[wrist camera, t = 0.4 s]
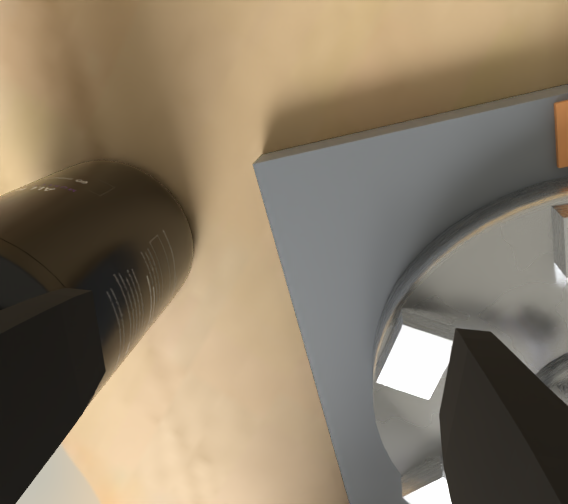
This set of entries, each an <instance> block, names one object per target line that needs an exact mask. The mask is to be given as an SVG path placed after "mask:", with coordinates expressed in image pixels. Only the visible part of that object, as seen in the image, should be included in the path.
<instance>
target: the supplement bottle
mask: <svg viewBox="0 0 568 504" xmlns="http://www.w3.org/2000/svg"><path fill="white" fill-rule="evenodd" d="M192 259H193V239H192V233H191V229H190V226H189V223H188V220H187V218H186V216H185V214H184V212H183V210H182V208H181V206H180V205H179V203H178V202H177V200H176V199H175V198H174V196H173V195H172V194H171V193H170V192H169V191H168V190H167V188H166V187H165V186H163V185H162V184H161V183H160V182H159V181H158V180H156V179H155V178H154V177H152V176H151V175H149V174H148V173H146V172H144V171H142V170H140V169H138V168H136V167H134V166H131V165H129V164H125V163H122V162H117V161H110V160H94V161H87V162H83V163H79V164H77V165H74V166H71V167H69V168H66V169H64V170H61V171H58V172H56V173H54V174H51V175H49V176H46V177H44V178H42V179H39V180H37V181H35V182H32V183H30V184H27V185H25V186H23V187H20V188H18V189H16V190H13V191H11V192H9V193H6V194H4V195H1V196H0V310H2V309H5V308H7V307H10V306H12V305H15V304H18V303H20V302H23V301H26V300H28V299H31V298H34V297H37V296H39V295H42V294H45V293H48V292H52V291H55V290H59V289H62V288H72V289H82V290H91V291H92V293H93V299H94V305H95V311H96V317H97V322H98V328H99V334H100V340H101V346H102V352H103V358H104V363H105V369H106V372H105V374H104V376H103V378H102V380H101V382H100V384H99V385H98V387H97V389H96V391H95V393H94V395H93V397H92V398H91V400H90V402H91V401H92V400H93V399H94V397H95V396H96V395H97V394H98V392H99V391H100V390H101V389H102V387H103V386H104V385H105V384H106V382H107V381H108V380H109V379H110V377H111V376H112V375H113V374H114V372H115V371H116V370H117V368H118V367H119V366H120V365H121V363H122V362H123V361H124V360H125V358H126V357H127V356H128V355H129V353H130V352H131V351H132V350H133V348H134V347H135V346H136V345H137V343H138V342H139V341H140V340H141V338H142V337H143V336H144V335H145V333H146V332H147V331H148V330H149V328H150V327H151V326H152V324H153V323H154V322H155V321H156V319H157V318H158V317H159V316H160V314H161V313H162V312H163V311H164V309H165V308H166V307H167V306H168V304H169V303H170V302H171V301H172V299H173V298H174V297H175V295H176V294H177V292H178V291H179V290H180V288H181V287H182V286H183V284H184V282H185V280H186V279H187V277H188V274H189V272H190V269H191V265H192ZM90 402H89V403H88V405H89V404H90ZM88 405H87V406H88Z"/></svg>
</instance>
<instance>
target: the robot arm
mask: <svg viewBox="0 0 568 504" xmlns="http://www.w3.org/2000/svg"><path fill="white" fill-rule="evenodd" d="M105 372H106V369H105V363H104V358H103V352H102V346H101V340H100V334H99V328H98V322H97V317H96V311H95V305H94V299H93V293H92V291H91V290H82V289H72V288H62V289H59V290H55V291H52V292H48V293H45V294H42V295H39V296H37V297H34V298H31V299H28V300H26V301H23V302H20V303H18V304H15V305H12V306H10V307H7V308H5V309H2V310H0V504H16V502H17V501H18V500H19V498H20V497H21V495H22V494H23V493H24V492H25V490H26V489H27V488H28V486H29V485H30V484H31V482H32V481H33V480H34V478H35V477H36V475H37V474H38V473H39V472H40V470H41V469H42V468H43V466H44V465H45V464H46V463H47V461H48V460H49V459H50V457H51V456H52V455H53V453H54V452H55V450H56V449H57V448H58V447H59V445H60V444H61V443H62V441H63V440H64V438H65V437H66V436H67V434H68V433H69V432H70V430H71V429H72V428H73V426H74V425H75V424H76V422H77V421H78V419H79V418H80V417H81V415H82V414H83V412H84V410H85V409H86V407H87V405H88V403H89V402H90V400H91V398H92V397H93V395H94V393H95V391H96V389H97V387H98V385H99V384H100V382H101V380H102V378H103V376H104V374H105ZM439 421H440V434H441V445H442V456H443V466H444V471H445V476H446V481H447V485H448V490H449V495H450V500H451V504H568V405H567V404H565V403H564V402H563V401H562V400H561V399H560V398H559V397H558V396H557V395H556V394H555V393H554V392H553V391H552V390H551V389H549V388H548V387H547V386H546V385H545V384H544V383H543V382H542V381H541V380H540V379H539V378H538V377H537V376H536V375H535V374H534V373H533V372H532V371H531V370H530V369H529V368H528V367H527V366H526V365H525V364H524V363H523V362H522V361H521V360H520V359H519V358H518V357H517V356H516V355H515V354H514V353H513V352H512V351H511V350H510V349H509V348H508V347H507V346H506V345H505V344H504V343H502V342H501V341H500V340H499V339H498V338H497V337H496V336H495V335H494V334H493V333H492V332H491V331H481V330H471V329H461V328H455V333H454V339H453V344H452V349H451V354H450V360H449V365H448V370H447V375H446V380H445V386H444V391H443V396H442V401H441V407H440V412H439Z"/></svg>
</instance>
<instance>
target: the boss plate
mask: <svg viewBox="0 0 568 504" xmlns="http://www.w3.org/2000/svg"><path fill="white" fill-rule="evenodd" d="M253 167H254V170H255V174H256V177H257V181H258V184H259V188H260V191H261V195H262V198H263V202H264V205H265V209H266V212H267V216H268V219H269V223H270V226H271V230H272V233H273V237H274V240H275V244H276V248H277V251H278V255H279V258H280V262H281V265H282V269H283V272H284V276H285V279H286V283H287V286H288V290H289V293H290V297H291V300H292V304H293V307H294V311H295V314H296V318H297V321H298V325H299V328H300V332H301V335H302V339H303V342H304V346H305V349H306V353H307V356H308V360H309V363H310V367H311V370H312V374H313V377H314V381H315V384H316V388H317V391H318V395H319V398H320V402H321V405H322V409H323V412H324V416H325V419H326V423H327V426H328V430H329V433H330V437H331V440H332V444H333V447H334V451H335V454H336V458H337V461H338V465H339V468H340V472H341V475H342V479H343V482H344V486H345V489H346V493H347V496H348V500H349V503H350V504H409V503H408V502H407V501H406V500H405V499H404V498H403V497H402V481H401V474H400V472H399V471H398V470H397V468H396V467H395V465H394V464H393V462H392V461H391V459H390V457H389V455H388V453H387V451H386V449H385V447H384V445H383V443H382V440H381V437H380V434H379V431H378V428H377V425H376V420H375V413H374V407H373V347H374V342H375V336H376V330H377V326H378V323H379V320H380V317H381V314H382V311H383V309H384V306H385V304H386V302H387V300H388V298H389V296H390V294H391V292H392V290H393V289H394V287H395V285H396V283H397V282H398V281H399V279H400V278H401V276H402V275H403V274H404V272H405V271H406V269H407V268H408V267H409V265H410V264H411V263H412V262H413V261H414V260H415V259H416V258H417V256H418V255H419V254H420V253H421V252H422V251H423V250H424V249H425V248H426V247H427V246H428V245H429V244H430V243H431V242H432V241H434V240H435V239H436V238H437V237H438V236H440V235H441V234H442V233H443V232H444V231H446V230H447V229H448V228H449V227H451V226H452V225H453V224H455V223H457V222H458V221H460V220H461V219H463V218H464V217H466V216H467V215H469V214H470V213H472V212H474V211H475V210H477V209H479V208H481V207H483V206H485V205H487V204H489V203H491V202H493V201H495V200H497V199H499V198H501V197H503V196H505V195H507V194H510V193H513V192H515V191H518V190H521V189H524V188H526V187H529V186H532V185H535V184H538V183H541V182H546V181H550V180H554V179H558V178H562V177H566V176H568V84H566V85H562V86H557V87H553V88H549V89H544V90H540V91H536V92H531V93H527V94H523V95H518V96H514V97H510V98H505V99H501V100H497V101H492V102H488V103H484V104H479V105H475V106H471V107H466V108H462V109H458V110H453V111H449V112H445V113H440V114H436V115H432V116H427V117H423V118H419V119H414V120H410V121H406V122H401V123H397V124H393V125H388V126H384V127H380V128H375V129H371V130H366V131H362V132H358V133H353V134H349V135H345V136H340V137H336V138H332V139H327V140H323V141H319V142H314V143H310V144H306V145H301V146H297V147H293V148H288V149H284V150H280V151H275V152H271V153H267V154H262V155H261V156H260V157H259V158H258V159H257V160H256V161H255V162H254V163H253Z"/></svg>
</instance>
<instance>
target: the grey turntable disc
mask: <svg viewBox="0 0 568 504" xmlns="http://www.w3.org/2000/svg"><path fill="white" fill-rule="evenodd" d="M455 328H461V329H471V330H481V331H491V332H492V333H493V334H494V335H495V336H496V337H497V338H498V339H499V340H500V341H501V342H502V343H504V344H505V345H506V346H507V347H508V348H509V349H510V350H511V351H512V352H513V353H514V354H515V355H516V356H517V357H518V358H519V359H520V360H521V361H522V362H523V363H524V364H525V365H526V366H527V367H528V368H529V369H530V370H531V371H532V372H533V373H534V374H535V375H536V376H537V377H538V378H539V379H540V380H541V381H542V382H543V383H544V384H545V385H546V386H547V387H548V388H549V389H551V390H552V391H553V392H554V393H555V394H556V395H557V396H558V397H559V398H560V399H561V400H562V401H563V402H564V403H565V404H567V405H568V176H566V177H562V178H558V179H554V180H550V181H546V182H541V183H538V184H535V185H532V186H529V187H526V188H524V189H521V190H518V191H515V192H513V193H510V194H507V195H505V196H503V197H501V198H499V199H497V200H495V201H493V202H491V203H489V204H487V205H485V206H483V207H481V208H479V209H477V210H475V211H474V212H472V213H470V214H469V215H467V216H466V217H464V218H463V219H461V220H460V221H458V222H457V223H455V224H453V225H452V226H451V227H449V228H448V229H447V230H446V231H444V232H443V233H442V234H441V235H440V236H438V237H437V238H436V239H435V240H434V241H432V242H431V243H430V244H429V245H428V246H427V247H426V248H425V249H424V250H423V251H422V252H421V253H420V254H419V255H418V256H417V258H416V259H415V260H414V261H413V262H412V263H411V264H410V265H409V267H408V268H407V269H406V271H405V272H404V274H403V275H402V276H401V278H400V279H399V281H398V282H397V283H396V285H395V287H394V289H393V290H392V292H391V294H390V296H389V298H388V300H387V302H386V304H385V306H384V309H383V311H382V314H381V317H380V320H379V323H378V326H377V330H376V336H375V342H374V347H373V407H374V413H375V420H376V425H377V428H378V431H379V434H380V437H381V440H382V443H383V445H384V447H385V449H386V451H387V453H388V455H389V457H390V459H391V461H392V462H393V464H394V465H395V467H396V468H397V470H398V471H399V472H400V474H401V481H402V497H403V498H404V499H405V500H406V501H407V502H408V503H409V504H451V500H450V495H449V490H448V485H447V481H446V476H445V471H444V466H443V456H442V445H441V434H440V421H439V412H440V407H441V401H442V396H443V391H444V386H445V380H446V375H447V370H448V365H449V360H450V354H451V349H452V344H453V339H454V333H455Z"/></svg>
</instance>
